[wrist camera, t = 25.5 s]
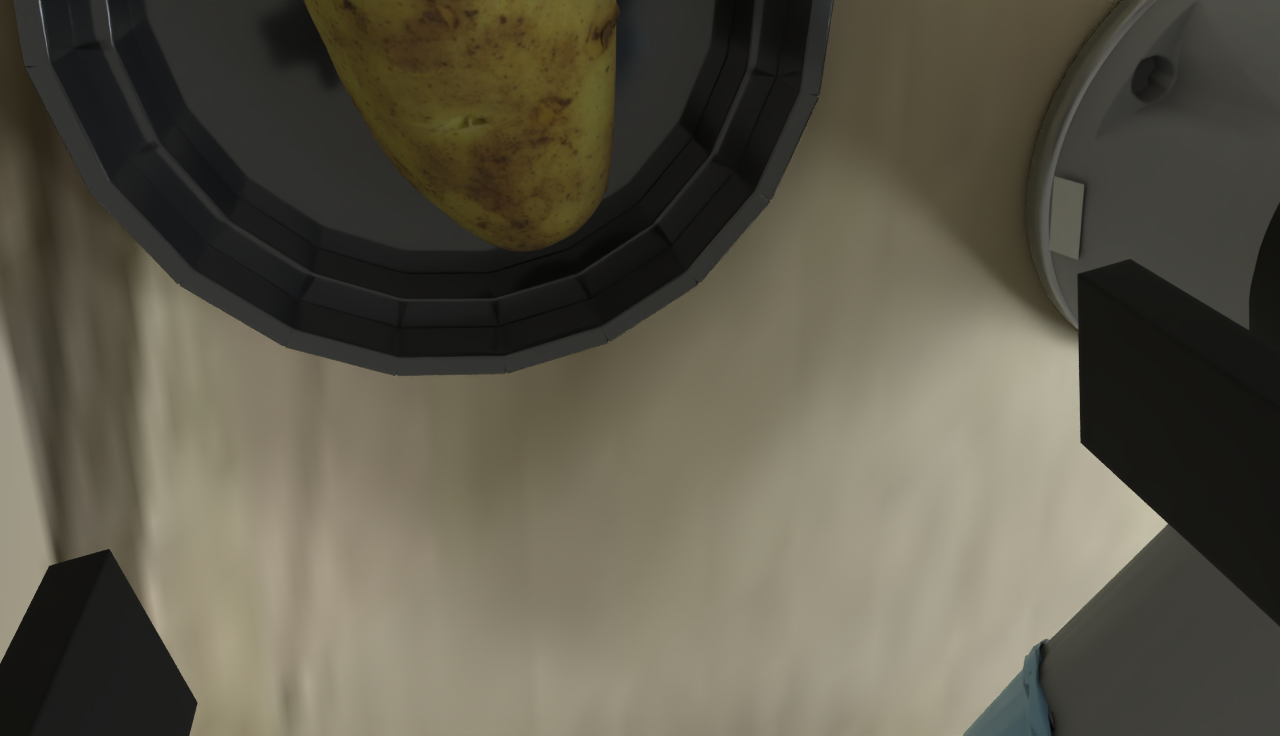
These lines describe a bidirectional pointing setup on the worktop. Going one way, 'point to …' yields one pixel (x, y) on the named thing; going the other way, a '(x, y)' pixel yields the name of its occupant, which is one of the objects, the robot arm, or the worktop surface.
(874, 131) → the worktop surface
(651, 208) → the pan
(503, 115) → the potato
